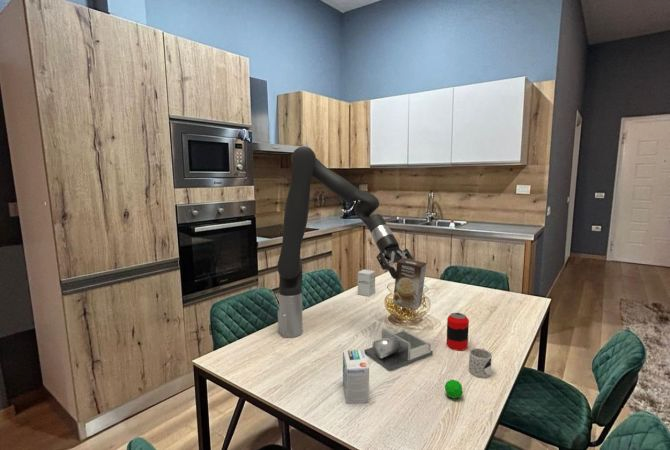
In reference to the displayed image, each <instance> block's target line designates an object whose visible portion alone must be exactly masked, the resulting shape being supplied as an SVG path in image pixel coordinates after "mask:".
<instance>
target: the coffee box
mask: <svg viewBox="0 0 670 450" xmlns="http://www.w3.org/2000/svg"><path fill="white" fill-rule="evenodd" d="M426 269H427V262H424V261H419V260H415V259H414V260H411V259H407V258H402V259H400V260H399V261H397V263H396V269H395V270H396V272H397V274H398V277H397V278H396V279H394V290H393V299H392V300H393V301H392V304H393V305H396V306H400V307H403V308H406V309H409V310H413V311H417V310H419V308H420V307H421V306H422V305H423V304H422V303H423V295H424V294H423V293H424V286H425V278H426V277H425V276H426Z"/></svg>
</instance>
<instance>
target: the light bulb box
mask: <svg viewBox="0 0 670 450" xmlns="http://www.w3.org/2000/svg"><path fill="white" fill-rule="evenodd" d="M364 350H365V349H358V350H356V349H355V350H343V351H342V386H343V392H344V398H345V403H346V404H361V403H362V404H363V403H365V404H366V403H367V404H368V403H369V400H370V398H369V396H370V395H369V393H370V365H369V362H368V360H367V355H366V354H365V353H364Z"/></svg>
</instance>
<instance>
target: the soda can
mask: <svg viewBox="0 0 670 450" xmlns="http://www.w3.org/2000/svg"><path fill="white" fill-rule="evenodd" d="M446 319H447V321H446V322H447V323H446V341H445V342H446V347H448V348H449V349H451V350H454V351H466V350H467V348H468V347H469V346H468V344H469V328H470V327H469V324H470V323H469V322H470V320H469V318H468V317H467V315H465V314H463V313H462V312H452V313H450V314H449V315H448V316H447V318H446Z"/></svg>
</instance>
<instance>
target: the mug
mask: <svg viewBox="0 0 670 450" xmlns="http://www.w3.org/2000/svg"><path fill="white" fill-rule="evenodd" d="M492 356H493V355H492V352H490V351H488V350H486V349H485V348H471V349H470V350H469V357H468V358H469V360H468V372H469V373H468V374H470V375H472V376H473V377H476V378H479V379H488V378H490V377H491V376H492V375H491V372H492Z"/></svg>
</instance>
